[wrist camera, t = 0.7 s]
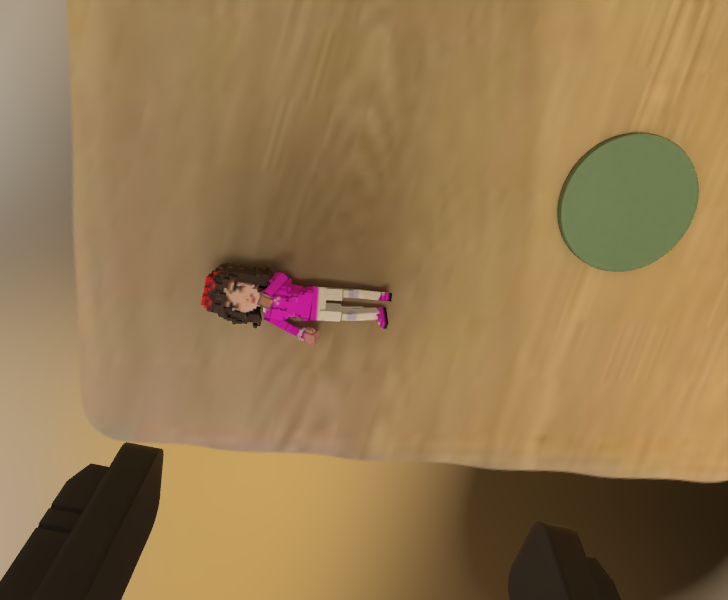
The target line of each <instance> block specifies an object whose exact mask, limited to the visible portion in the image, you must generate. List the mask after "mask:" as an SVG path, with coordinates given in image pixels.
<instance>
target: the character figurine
mask: <svg viewBox="0 0 728 600" xmlns="http://www.w3.org/2000/svg"><path fill="white" fill-rule="evenodd" d="M267 281H268V282H267ZM264 288H266V289H264ZM343 298H360V299H370V300H381V301H391V298H392V293H388V292H379V291H372V290H364V289H354V288H328V287H318V286H307V287H302V286H299V285H294V284H292V279H289V277H288V276H287V275H286V274H285V273H284V272H275V273H274V274H273V275H272V271H271V268H270V267H268V266H267V270H264V269H262V268H257V267H254V269H253V268H249V266H246V265H236V264H232V265H231V264H226V265H225V264H222V266H221V265H220V266H219V269H217V268H216V271H212V274H209V276H207V277H206V282H205V288H204V293H203V298H202V303H201V305H204V307H205V308H207V309H206V311H209V312H213V313H218V316H219V317H223V318H224V319H227V321H232V324H236V323H237V324H241V323H245V324H247V322H253V327H254V328H257V326H260V324H261V320H262V317H261V313H260V309H261V308H260V306H261V307H264V308H263V312H264V313H265V317H264V319H265V320H266V321H268V322H270V323H272V324H274V325H276V326H278V327H279V328H281V329H283V330H285V331H287V332H289V333H291V334H293V335H295V336H298V340H300V341H303V342H304V341H305V342H306V343H309V344H313V345H315V344H316V343H317V341H318V340H319V339H320V336H319V330H316V329H315V328H311V327H307V328H305V327H303V328H302V329H301V328H298V327H296V326H294V325H292V324H290V323H289V322H287V321H285V320H284V319H286V320H288V317H292V318H296V317H300V318H301V319H303V320H304V321H308V319H309V320H310V321H337V322H341V320H345V321H362V320H377V322H378V324H380V325H381V328H384V329H386V328H387V325H388V318H387V311H386V308H385V307H378V309H377V307H368V308H364V307H363V306H359V307H347V306H341V304H336V303H326V300H336V301H343Z"/></svg>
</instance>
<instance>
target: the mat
mask: <svg viewBox="0 0 728 600" xmlns="http://www.w3.org/2000/svg"><path fill="white" fill-rule="evenodd" d="M698 193H699V188H698V179H697V174H696V171H695V168H694V166H693V164H692V162H691V160H690V158H689V157H688V156H687V154H686V153H685V152H684V151H683V150H682V149H681V148H680V147H679V146H678V145H677V144H675V143H674V142H672V141H670V140H668V139H666V138H664V137H661V136H657V135H653V134H646V133H630V134H623V135H620V136H616V137H613V138H611V139H609V140H606V141H604V142H602V143H601V144H599V145H597V146H596V147H594V148H593V149H592V150H590V151H589V152H588V153H587V154H586V155H585V156H583V157H582V158H581V159H580V161H579V162H578V163H577V164H576V165H575V166H574V168H573V169H572V171H571V172H570V174H569V176H568V178H567V179H566V181H565V183H564V186H563V189H562V191H561V195H560V199H559V206H558V221H559V227H560V231H561V234H562V237H563V239H564V241H565V243H566V244H567V246H568V247H569V249H570V250H571V251H572V252H573V253H574V254H575V255H576V256H577V257H578V258H580V259H581V260H582V261H584V262H585V263H587V264H589V265H590V266H593V267H595V268H597V269H601V270H605V271H613V272H621V271H630V270H634V269H638V268H641V267H644V266H646V265H649V264H651V263H653V262H654V261H656V260H658V259H659V258H661V257H662V256H664V255H665V254H666V253H668V252H669V251H670V250H671V249H672V248H673V247H674V246H675V245H676V244H677V243H678V242H679V241H680V239H681V238H682V237H683V235H684V234H685V232H686V231H687V229H688V227H689V226H690V224H691V221H692V219H693V217H694V214H695V211H696V207H697V202H698Z"/></svg>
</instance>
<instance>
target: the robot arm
mask: <svg viewBox="0 0 728 600" xmlns="http://www.w3.org/2000/svg"><path fill="white" fill-rule="evenodd" d="M162 465H163V450H162V449H159V448H154V447H148V446H143V445H138V444H132V443H127V442H126V443H124V444H123V446H122V447H121V449H120V450H119V452H118V453H117V455H116V457H115V458H114V460H113V462H112V463H111V465H110V467H106V466H101V465H95V464H90V465H88V466H87V467H85V468H84V469H83V470H81V471H80V472H79V473H77V474H76V475H75V476H73V477H72V478H71V479H69V480H68V481H67V482H66V483H65V485H64V486H63V488H62V490H61V491H60V493H59V494H58V496H57V497H56V498H55V500H54V501H53V503H52V506H51V508H50V509H48V510H47V512H46V513H45V515H44V517H43V518H42V520H41V521H40V523H39V526H38V528H36V529H35V530H34V532H33V533H32V535H31V536H30V538H29V539H28V541H27V542H26V544H25V545H24V547H23V548H22V550H21V551H20V553H19V554H18V556H17V557H16V559H15V560H14V562H13V563H12V565H11V566H10V568H9V569H8V571H7V572H6V574H5V575H4V577H3V578H2V580H1V581H0V600H121V599H122V596H123V594H124V592H125V589H126V587H127V585H128V583H129V580H130V578H131V576H132V573H133V571H134V569H135V567H136V564H137V562H138V560H139V557H140V555H141V553H142V551H143V548H144V546H145V544H146V542H147V539H148V537H149V535H150V532H151V530H152V527H153V524H154V521H155V518H156V514H157V511H158V506H159V499H160V488H161V477H162V476H161V475H162ZM508 588H509V589H508V590H509V599H510V600H621V599H620V596H619V594H618V591H617V589H616V587H615V584H614V582H613V581H612V579H611V578H610V577H609V575H608V574H607V573H606V571H605V570H604V569H603V567H602V566H601V565H600V564H599V562H598V561H597V560H596V559H595V558H590V557H586V555H585V552H584V549H583V547H582V544H581V542H580V539H579V536H578V534H577V532H576V531H575V530H574V529H573V528H570V527H565V526H559V525H554V524H548V523H544V522H536V523H535V524H534V525H533V527H532V528H531V531H530V532H529V535H528V536H527V538H526V540H525V542H524V544H523V546H522V547H521V549H520V551H519V553H518V555H517V557H516V559H515V561H514V563H513V565H512V567H511V570H510V574H509V584H508Z"/></svg>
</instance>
